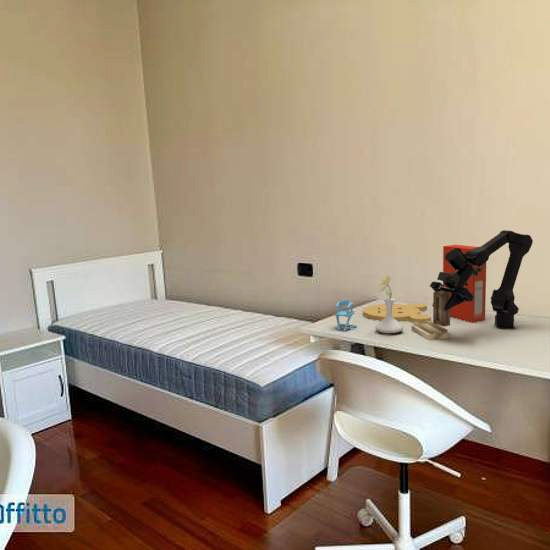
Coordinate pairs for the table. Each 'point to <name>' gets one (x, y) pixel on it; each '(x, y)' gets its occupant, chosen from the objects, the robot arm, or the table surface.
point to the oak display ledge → (430, 331)
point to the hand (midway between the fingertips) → (438, 308)
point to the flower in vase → (388, 311)
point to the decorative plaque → (399, 312)
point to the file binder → (476, 286)
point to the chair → (344, 314)
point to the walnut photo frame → (441, 309)
